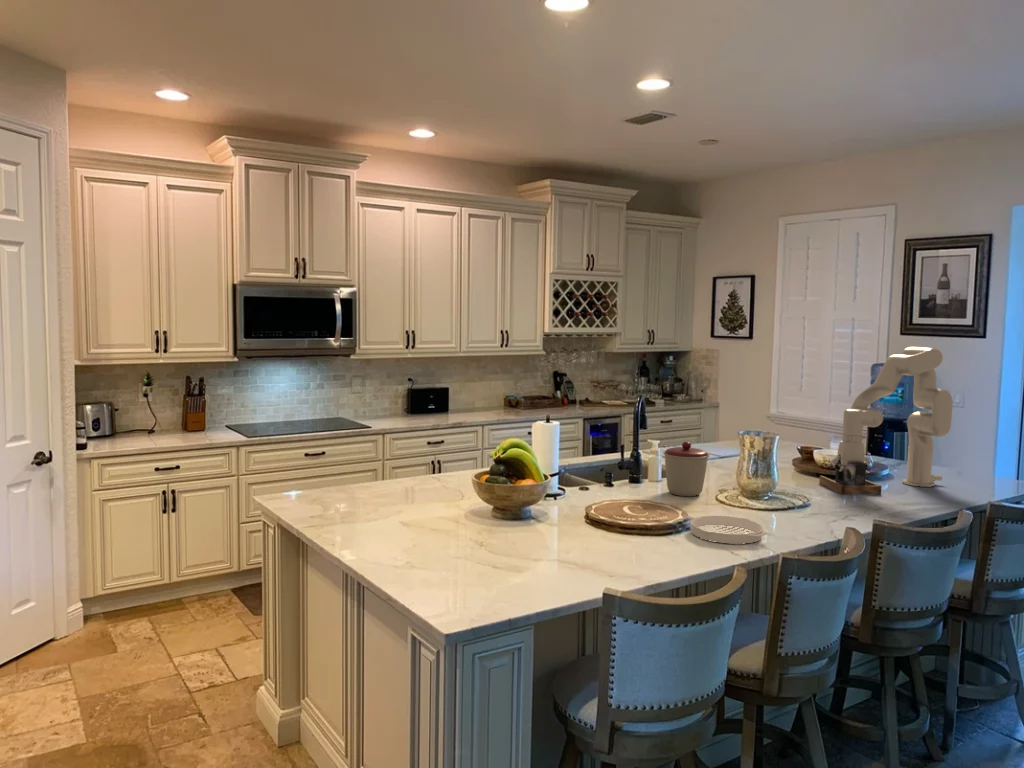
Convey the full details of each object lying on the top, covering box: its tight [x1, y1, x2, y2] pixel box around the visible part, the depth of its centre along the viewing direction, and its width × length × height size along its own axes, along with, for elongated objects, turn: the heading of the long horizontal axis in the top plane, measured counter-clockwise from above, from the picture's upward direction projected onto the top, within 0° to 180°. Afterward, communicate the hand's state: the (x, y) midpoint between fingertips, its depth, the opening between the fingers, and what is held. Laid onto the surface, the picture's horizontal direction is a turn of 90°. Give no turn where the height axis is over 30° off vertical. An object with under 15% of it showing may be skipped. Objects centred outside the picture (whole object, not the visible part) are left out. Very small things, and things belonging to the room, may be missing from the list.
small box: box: [834, 460, 867, 486], centre depth 324 cm, size 11×6×10 cm, turn 24°
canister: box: [662, 441, 710, 497], centre depth 309 cm, size 18×18×21 cm
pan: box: [686, 515, 768, 545], centre depth 257 cm, size 24×41×4 cm, turn 42°
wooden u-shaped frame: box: [819, 475, 882, 495], centre depth 324 cm, size 16×20×4 cm
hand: (849, 480), depth 325 cm, fingers closed on small box, 7 cm apart
